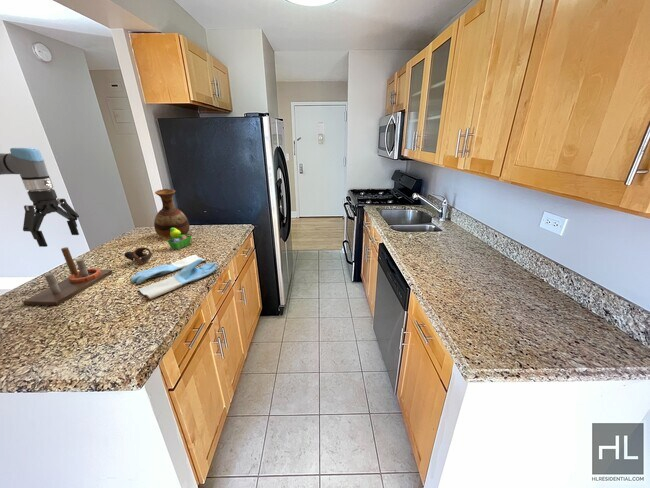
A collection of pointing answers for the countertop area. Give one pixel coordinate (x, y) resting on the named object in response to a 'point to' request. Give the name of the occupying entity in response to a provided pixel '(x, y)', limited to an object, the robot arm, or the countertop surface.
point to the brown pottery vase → (169, 215)
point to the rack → (64, 287)
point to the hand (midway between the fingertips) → (60, 240)
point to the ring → (74, 270)
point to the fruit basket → (178, 239)
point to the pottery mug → (138, 255)
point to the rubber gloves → (171, 283)
